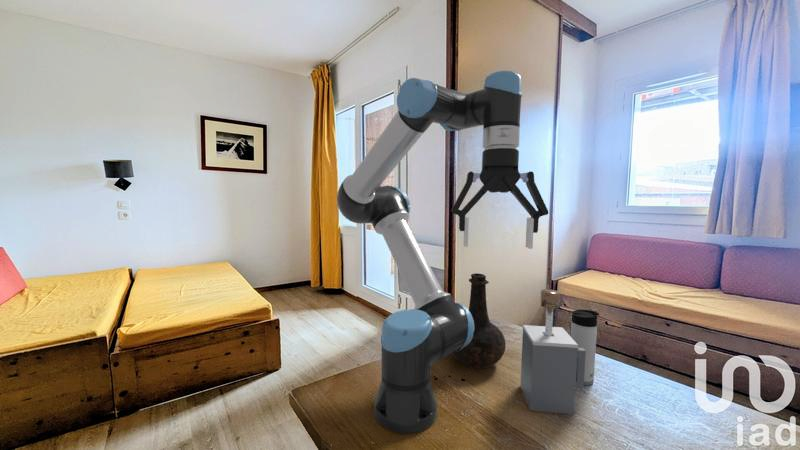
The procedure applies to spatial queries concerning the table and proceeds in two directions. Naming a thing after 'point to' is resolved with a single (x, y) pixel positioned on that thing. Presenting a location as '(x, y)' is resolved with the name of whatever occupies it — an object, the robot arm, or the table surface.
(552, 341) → the press
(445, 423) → the table surface
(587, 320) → the travel mug
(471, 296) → the glass bottle
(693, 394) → the table surface
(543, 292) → the plunger
